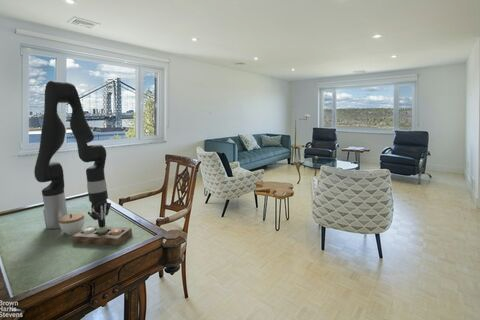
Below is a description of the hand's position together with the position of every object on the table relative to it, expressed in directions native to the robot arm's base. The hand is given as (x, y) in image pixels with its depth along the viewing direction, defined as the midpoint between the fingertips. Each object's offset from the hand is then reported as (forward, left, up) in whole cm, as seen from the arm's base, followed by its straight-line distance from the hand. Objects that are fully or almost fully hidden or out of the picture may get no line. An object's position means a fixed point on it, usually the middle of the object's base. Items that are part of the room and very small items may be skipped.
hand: (102, 226), depth 123 cm
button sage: (0, 0, -3) cm, 3 cm away
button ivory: (-7, 0, -4) cm, 8 cm away
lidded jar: (-20, +5, -6) cm, 22 cm away
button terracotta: (+7, 0, -4) cm, 8 cm away
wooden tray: (0, 0, -6) cm, 6 cm away
